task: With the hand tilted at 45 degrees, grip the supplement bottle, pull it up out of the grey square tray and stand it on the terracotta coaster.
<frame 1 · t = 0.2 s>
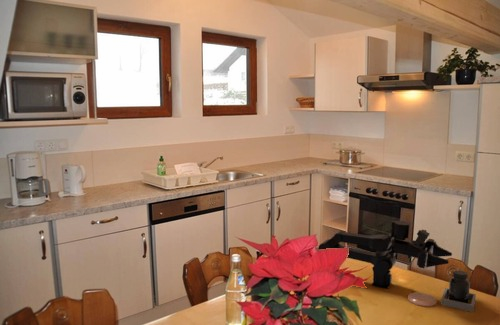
hand: (450, 258, 157), 17 cm above the table, tool horizontal, fingers open, 9 cm apart
coaster: (422, 300, 158), on the table
supplement bottle: (458, 303, 156), resting in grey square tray
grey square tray: (458, 302, 156), on the table
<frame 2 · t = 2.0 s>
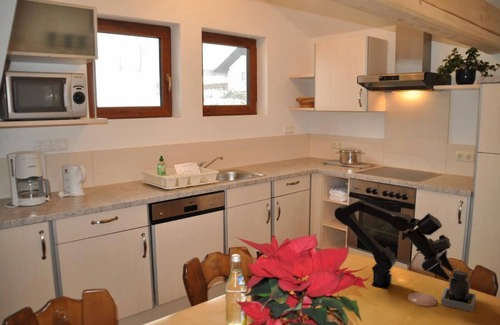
hand: (450, 275, 156), 10 cm above the table, tool tilted 45°, fingers open, 9 cm apart
nothing on the table moved.
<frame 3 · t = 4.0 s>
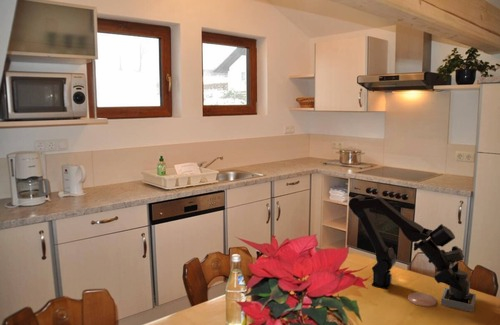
hand: (463, 287, 154), 7 cm above the table, tool tilted 45°, fingers closed on supplement bottle, 7 cm apart
supplement bottle: (458, 303, 156), resting in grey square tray, touching gripper
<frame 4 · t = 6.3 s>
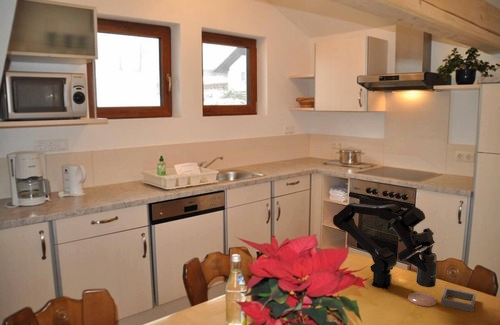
hand: (430, 268, 155), 13 cm above the table, tool tilted 45°, fingers closed on supplement bottle, 7 cm apart
supplement bottle: (425, 284, 157), point 7 cm above the table, touching gripper
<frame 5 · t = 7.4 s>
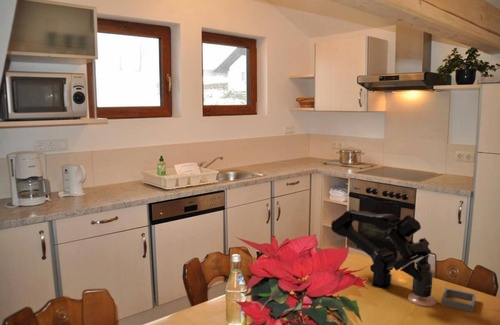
hand: (426, 278, 156), 9 cm above the table, tool tilted 45°, fingers closed on supplement bottle, 7 cm apart
supplement bottle: (421, 294, 158), point 2 cm above the table, touching gripper
when the fingers open (9 cm above the table, at t = 8.5 s): supplement bottle drops 1 cm, resting on coaster.
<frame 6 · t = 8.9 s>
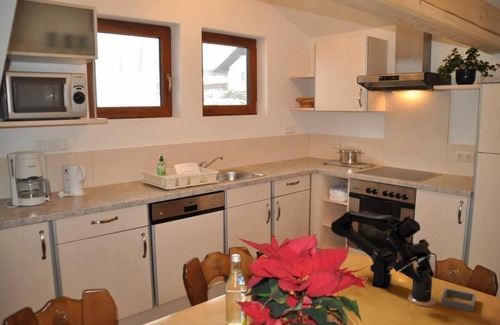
hand: (426, 279, 156), 9 cm above the table, tool tilted 45°, fingers open, 9 cm apart
supplement bottle: (421, 298, 158), point 1 cm above the table, touching coaster
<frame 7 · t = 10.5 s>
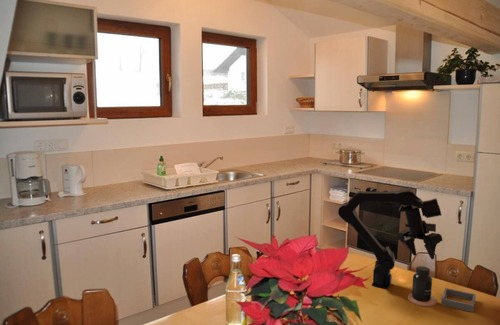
hand: (423, 257, 165), 14 cm above the table, tool tilted 15°, fingers open, 9 cm apart
nothing on the table moved.
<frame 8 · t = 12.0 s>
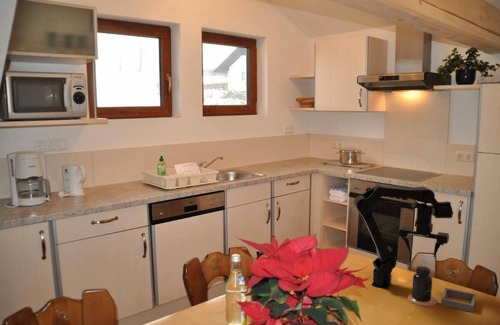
hand: (422, 255, 170), 13 cm above the table, tool pointing down, fingers open, 9 cm apart
nothing on the table moved.
at the end: supplement bottle 0.3 cm from the coaster (horizontally); supplement bottle tilted 0°; the gripper is holding nothing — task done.
